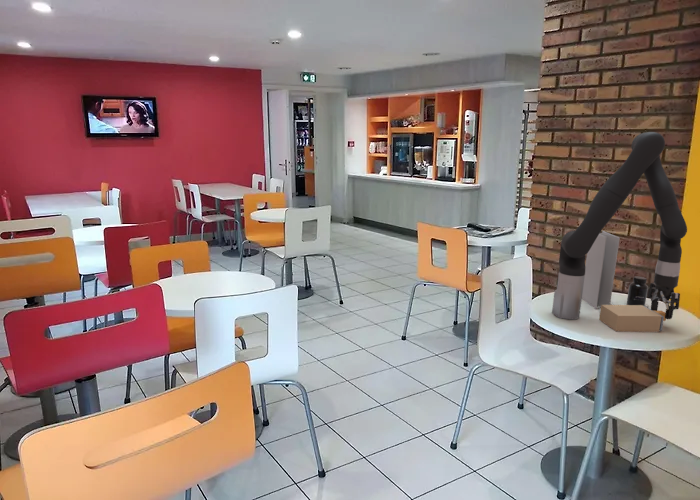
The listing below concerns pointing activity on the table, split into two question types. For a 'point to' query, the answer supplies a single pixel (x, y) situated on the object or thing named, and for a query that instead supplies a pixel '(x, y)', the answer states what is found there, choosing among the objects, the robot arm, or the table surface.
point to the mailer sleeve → (630, 318)
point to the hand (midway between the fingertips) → (660, 314)
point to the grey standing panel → (600, 270)
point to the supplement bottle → (637, 291)
